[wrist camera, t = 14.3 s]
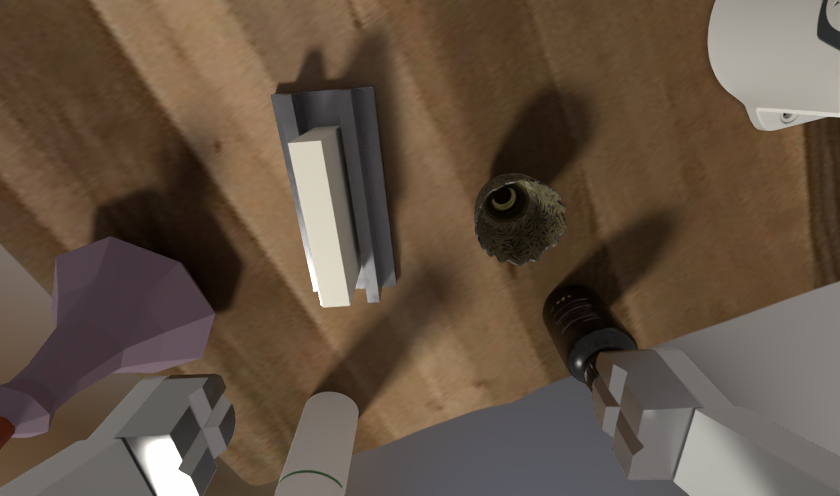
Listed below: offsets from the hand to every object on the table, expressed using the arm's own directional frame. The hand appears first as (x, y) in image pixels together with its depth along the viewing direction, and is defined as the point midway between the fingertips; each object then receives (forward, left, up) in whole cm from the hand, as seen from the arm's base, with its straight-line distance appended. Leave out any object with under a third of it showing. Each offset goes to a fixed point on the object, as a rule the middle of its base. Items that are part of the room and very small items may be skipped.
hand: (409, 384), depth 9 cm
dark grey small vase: (-8, +6, -31) cm, 33 cm away
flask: (+30, +14, -31) cm, 46 cm away
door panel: (+8, +5, -30) cm, 31 cm away
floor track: (+8, +5, -31) cm, 32 cm away
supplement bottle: (-16, +20, -31) cm, 40 cm away
